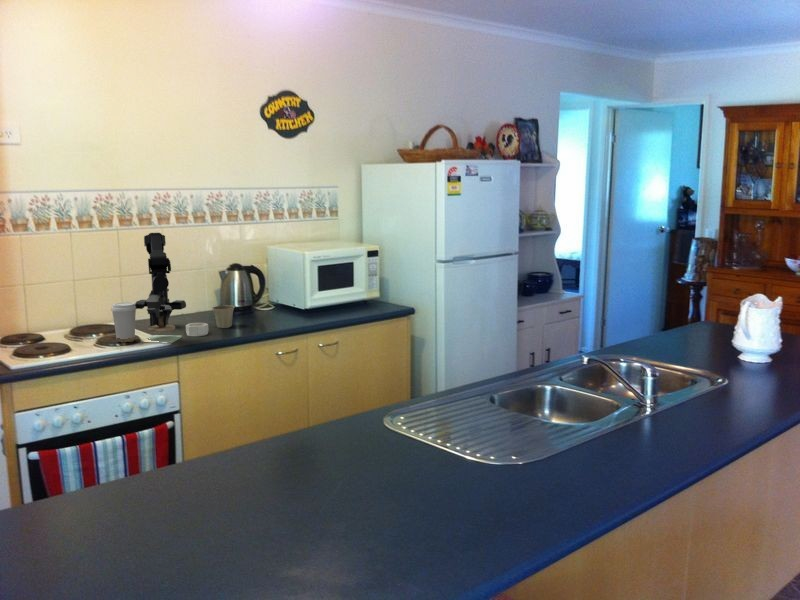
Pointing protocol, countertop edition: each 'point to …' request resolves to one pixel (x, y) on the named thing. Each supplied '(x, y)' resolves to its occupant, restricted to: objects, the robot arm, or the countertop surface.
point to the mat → (164, 338)
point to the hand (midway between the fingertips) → (161, 325)
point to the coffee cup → (124, 319)
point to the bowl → (197, 329)
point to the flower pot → (223, 315)
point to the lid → (161, 326)
